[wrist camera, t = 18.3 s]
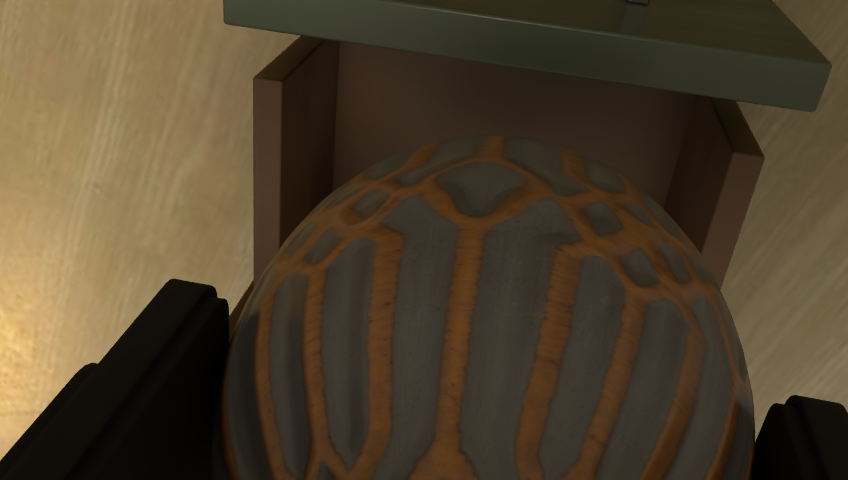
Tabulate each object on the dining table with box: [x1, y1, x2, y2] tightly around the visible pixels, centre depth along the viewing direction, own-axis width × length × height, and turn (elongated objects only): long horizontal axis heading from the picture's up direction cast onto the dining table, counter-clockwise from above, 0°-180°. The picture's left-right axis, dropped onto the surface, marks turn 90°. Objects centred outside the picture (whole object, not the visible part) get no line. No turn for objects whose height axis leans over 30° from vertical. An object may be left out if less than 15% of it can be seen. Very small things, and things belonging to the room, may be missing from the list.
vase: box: [211, 136, 755, 480], centre depth 10 cm, size 7×7×9 cm
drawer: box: [223, 0, 832, 289], centre depth 25 cm, size 22×14×7 cm, turn 174°
